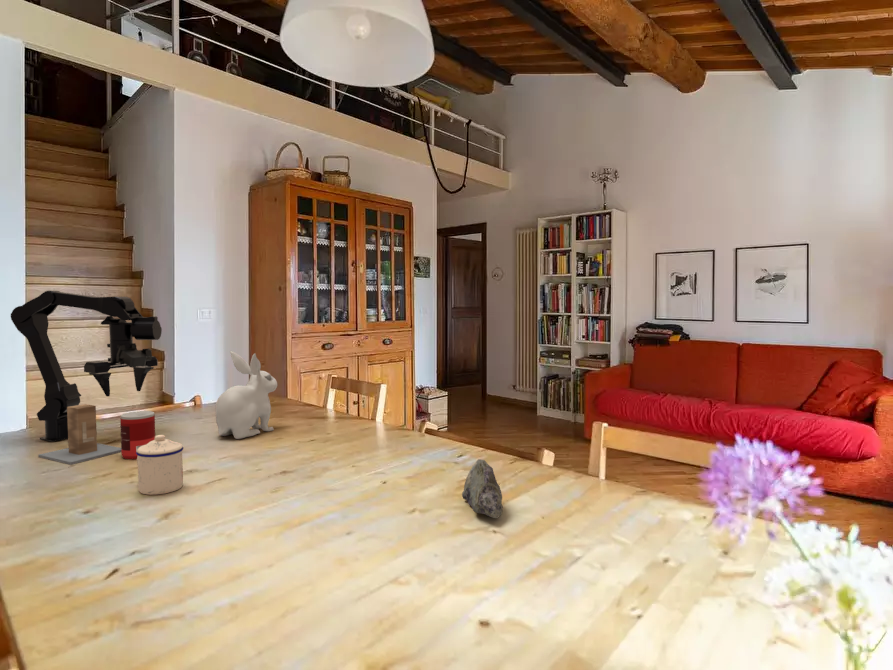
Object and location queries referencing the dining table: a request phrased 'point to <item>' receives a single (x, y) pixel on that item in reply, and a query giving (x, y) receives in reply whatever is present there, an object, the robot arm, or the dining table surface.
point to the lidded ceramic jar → (160, 466)
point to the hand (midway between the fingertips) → (123, 393)
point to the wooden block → (82, 429)
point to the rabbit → (246, 401)
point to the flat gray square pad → (72, 458)
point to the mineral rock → (483, 490)
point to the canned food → (136, 432)
